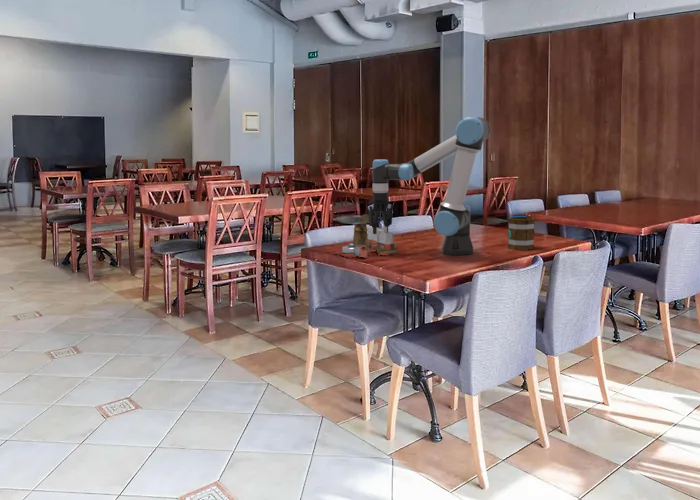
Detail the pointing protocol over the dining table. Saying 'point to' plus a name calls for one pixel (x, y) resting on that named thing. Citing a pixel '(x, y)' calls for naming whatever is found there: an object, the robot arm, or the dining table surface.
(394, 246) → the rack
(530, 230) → the mug
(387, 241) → the steel bar
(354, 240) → the bronze figurine
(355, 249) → the silver lever handle
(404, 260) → the dining table surface
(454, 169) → the robot arm
